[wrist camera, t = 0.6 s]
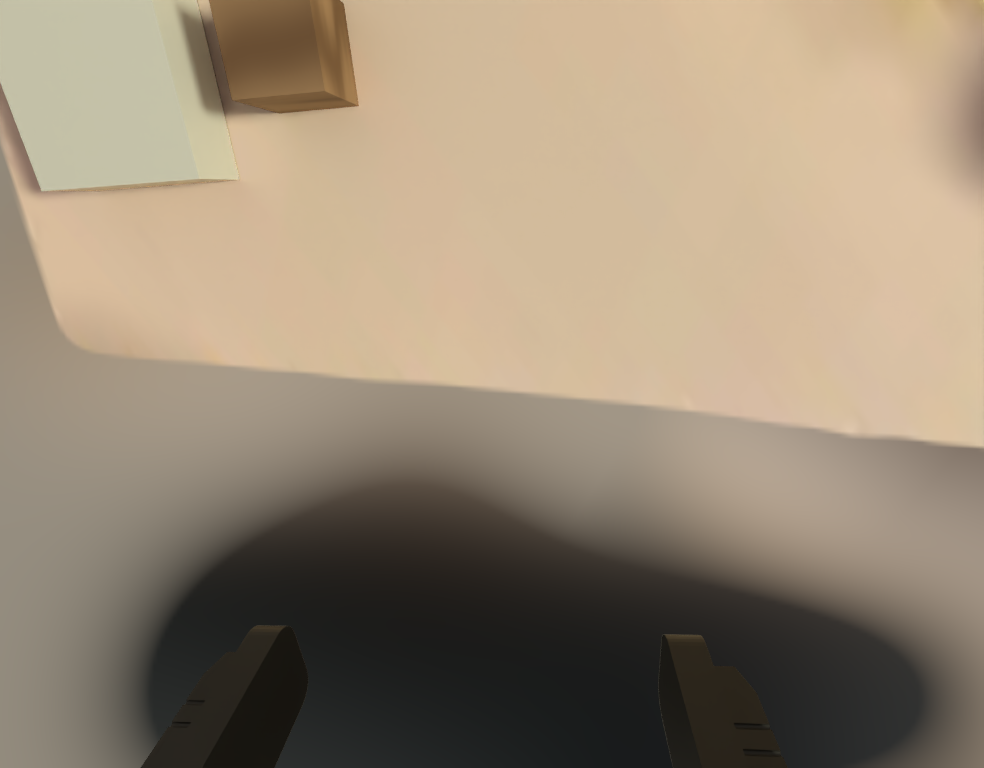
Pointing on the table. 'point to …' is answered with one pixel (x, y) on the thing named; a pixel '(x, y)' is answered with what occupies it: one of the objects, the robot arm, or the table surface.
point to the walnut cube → (286, 53)
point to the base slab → (114, 93)
